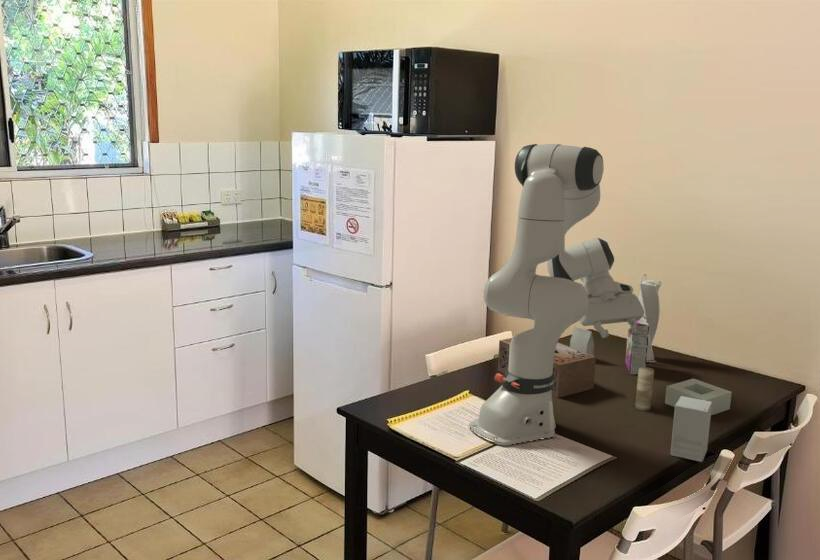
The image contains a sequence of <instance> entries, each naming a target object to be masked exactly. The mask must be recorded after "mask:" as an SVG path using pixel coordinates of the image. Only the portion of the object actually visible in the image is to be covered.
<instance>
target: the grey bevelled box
mask: <svg viewBox="0 0 820 560" xmlns="http://www.w3.org/2000/svg"><path fill="white" fill-rule="evenodd" d="M569 341H570V342H569V347H571V348H574V349H577V350H579V351H582V352H585V353H587V354H590V355H593V356H594V349H595V341H594V336H593V331H592V330H587V329H584V328H581V327H578V326H574V328H573V332H572V335H571V337H570V339H569Z"/></svg>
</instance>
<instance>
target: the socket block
mask: <svg viewBox="0 0 820 560" xmlns="http://www.w3.org/2000/svg"><path fill="white" fill-rule="evenodd" d="M732 393H733V392H732V391H730V390H727V389H724V388H722V387H719V386H717V385H716V386H715V385H713V384H711V383H708V382H706V381H705V382H704V381H702V380H699V379H696V378H691V379H687V380H683V381H680V382H676V383H672V384H669V385H666V388H665V397H664V404H666V405H668V406H670V407H674V408H675V405H676V403H677V402H678V400H679V399H680V397H681V396H684V397H689V398H694V399H700V400H705V401H710V402H712V409H711V416H713V415H717V414H720V413H723V412H725V411H728V410H731V403H732V402H731V401H732Z"/></svg>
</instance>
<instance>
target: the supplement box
mask: <svg viewBox="0 0 820 560" xmlns="http://www.w3.org/2000/svg"><path fill="white" fill-rule="evenodd" d="M711 409H712V402H710V401H705V400H700V399H694V398H689V397H684V396H681V397H680V399H679V400H678V402H677V403H676V405H675V407H674V412H673V413H674V414H673V422H672V434H671V435H672V436H671V443H670V444H671V446H670V456H674V457H678V458H683V459H686V460H691V461H696V462H700V463H703V461H704V459H705V457H706V454H707V453H708V444H709V435H710V426H711V417H712V415H711Z"/></svg>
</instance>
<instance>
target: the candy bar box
mask: <svg viewBox="0 0 820 560" xmlns="http://www.w3.org/2000/svg"><path fill="white" fill-rule="evenodd" d="M627 324H628V323H627ZM629 329H630V325H629V324H628V325H627V337H626V351H625V363H624V364H625V366H626V369H627V371H628V373H629V375H632V376H638V372H639V368H640V367H647V366H646V365H647V363H646V357H647V346H648V334H649V324H648V322H647V320H646V318H645V316H644V315H643V317H642V318H641V319H640V320H638V321H636V330H637V333H636V334H635V335H630V334H629V331H628V330H629Z"/></svg>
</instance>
